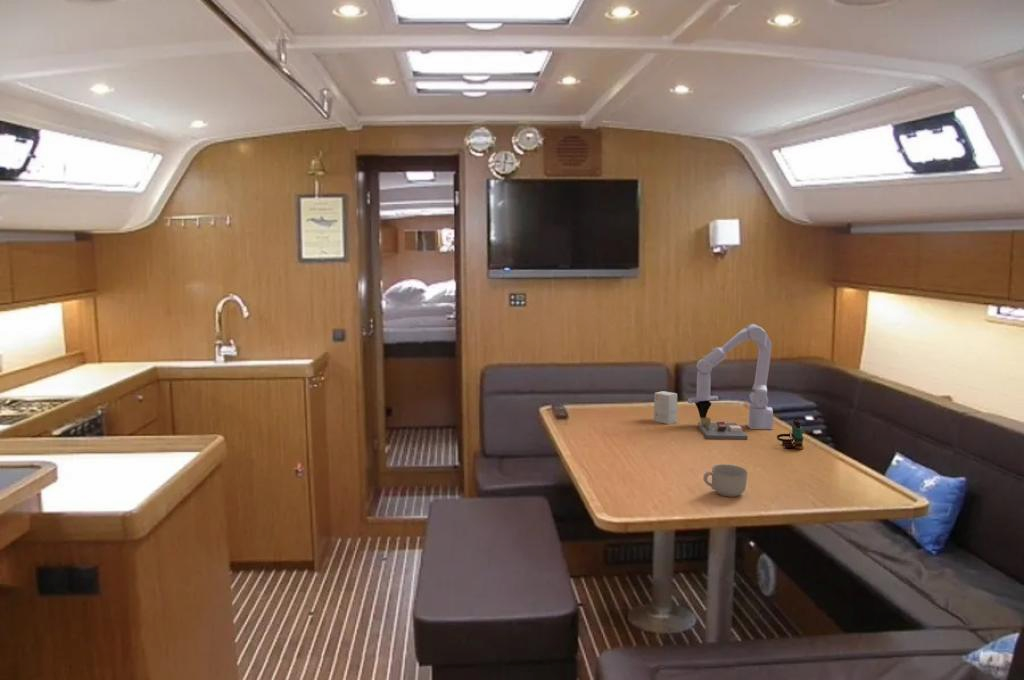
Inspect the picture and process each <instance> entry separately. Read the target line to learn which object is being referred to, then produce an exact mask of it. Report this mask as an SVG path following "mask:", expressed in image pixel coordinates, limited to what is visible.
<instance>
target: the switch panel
mask: <svg viewBox="0 0 1024 680" xmlns="http://www.w3.org/2000/svg"><path fill="white" fill-rule="evenodd" d="M724 423H725V425H726V429H719V427H718V425H717V422H710V425H700V422H697V426H698V427H697V428H699V431H700V432H702V434H703V435H704V437H705V439H706V440H741V441H742V440H748V434H746V432H745V431H743V429H742V432H730V431H729V425H738V424H737V423H736V422H724Z"/></svg>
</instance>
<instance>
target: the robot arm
mask: <svg viewBox="0 0 1024 680" xmlns="http://www.w3.org/2000/svg"><path fill="white" fill-rule="evenodd" d="M750 340H751V341H752V342H754V343H755V344H756V345H757V347H758V354H757V355H758V356H757V360H756V361H757V363H756V368H755V369H756V370H755V375H754V377H755V378H754V384H753V385H752V389H751V392H750V393H749V395H748V398H749V401H750V404H749V408H748V409H749V411H748V414H749V415H748V423H746V426H747V427H748V428H749V429H750V430H774V428H773V426H774V425H773V424H774V410H773V407H771V406H768V404H769V397H768V386H767V384H768V377H769V372H770V371H769V369H770V363H771V356H772V355H771V354H772V349H773V348H772V347H773V343H772V342H771V339H770V337H769V336H768V333H767V331H766V330H764V328H763V327H761V326H759V325H758V324H756V323H750V324H747V326H746V327H744V328H742V329H741V330H740V331H738V332H737V333H736V334H735V335H733V337H731V338H730V339H729V340H728V341H727V342H726V343H725V344H724V345H722V346H720V347H719V346H716V347H713V348H712V349H711V352H709V353H708V354H706V355H703V356H702V359H699V360H698V361H697V363H696V366H695V367H696V370H697V372H696V373H697V375H696V396H693V397H689V398H687V403H688V404H695V407H696V408H697V411H698V414H699V418H700V417H707V415H708V412H709V409H710V407H711V406H712V401H713V402H718V401H719V396H718V395H711V385H712V384H711V383H712V382H711V380H712V379H711V373H712V370H713V368H715V367H716V366H717V365H718V364H720V363H721V362H722V361H724V360H725V359H726V358H727V353H729V352H730V351H732V350H733V349H734V348H736V347H737V346H738V345H740V344H741V343H744V342H750Z"/></svg>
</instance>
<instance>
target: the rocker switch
mask: <svg viewBox="0 0 1024 680" xmlns="http://www.w3.org/2000/svg"><path fill="white" fill-rule="evenodd" d="M716 423H717V425H718V427H719V429H726V425H725V423H726V422H725V421H716Z"/></svg>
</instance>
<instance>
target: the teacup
mask: <svg viewBox="0 0 1024 680" xmlns="http://www.w3.org/2000/svg"><path fill="white" fill-rule="evenodd" d="M711 470H712V471H706V472H705V473H704V474H703V481H704V483H705V484H706V485H707V486H709V487H711V489H712V490H714V491H715V492H716V493H717V494H719V495H720V496H722V497H728V498H729V497H730V498H735V497H739V496H740V495H741V494H743V493H744V492H745V490H746V487H747V479H748V470H747V469H746V468H744V467H741V466H737V465H734V464H727V463H726V464H722V463H721V464H715V465H713V466H712V467H711ZM709 476H711V482H709V481H708V478H709Z"/></svg>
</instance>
